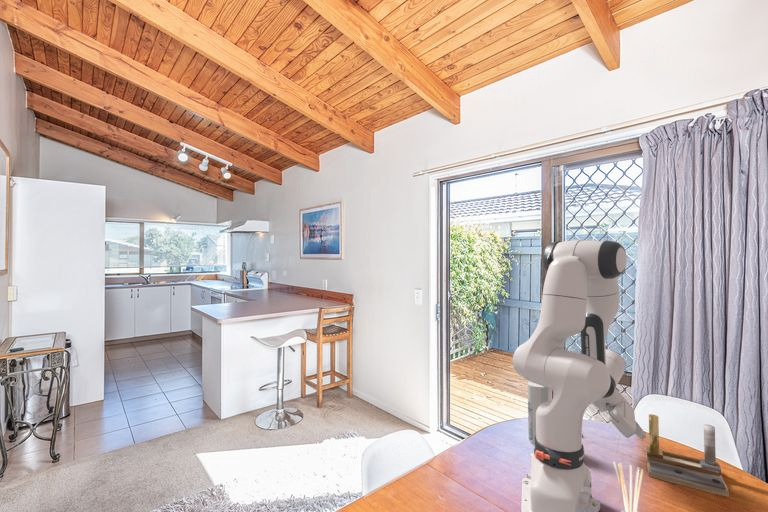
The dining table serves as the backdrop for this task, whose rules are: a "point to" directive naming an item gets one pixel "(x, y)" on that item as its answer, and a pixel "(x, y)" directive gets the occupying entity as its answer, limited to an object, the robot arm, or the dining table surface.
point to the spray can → (535, 406)
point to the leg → (654, 438)
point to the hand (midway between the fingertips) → (644, 436)
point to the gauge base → (691, 468)
